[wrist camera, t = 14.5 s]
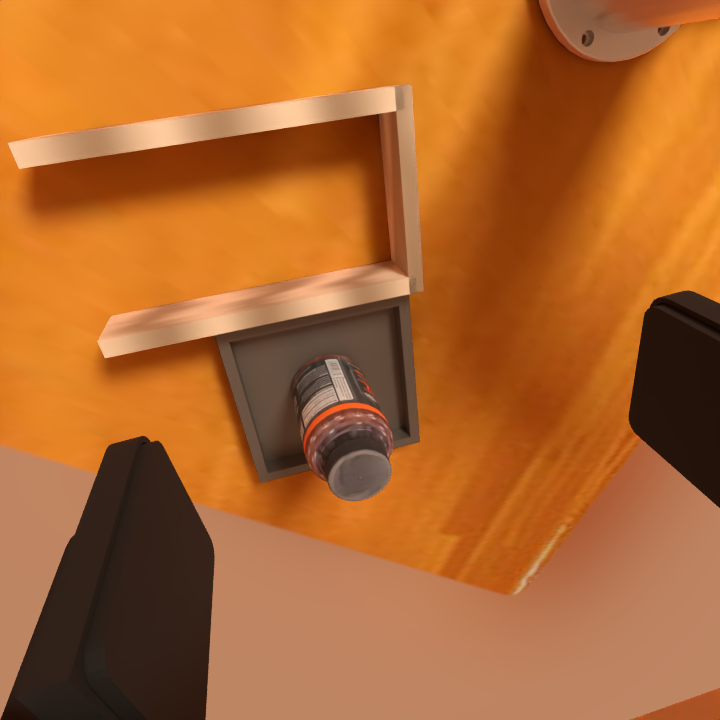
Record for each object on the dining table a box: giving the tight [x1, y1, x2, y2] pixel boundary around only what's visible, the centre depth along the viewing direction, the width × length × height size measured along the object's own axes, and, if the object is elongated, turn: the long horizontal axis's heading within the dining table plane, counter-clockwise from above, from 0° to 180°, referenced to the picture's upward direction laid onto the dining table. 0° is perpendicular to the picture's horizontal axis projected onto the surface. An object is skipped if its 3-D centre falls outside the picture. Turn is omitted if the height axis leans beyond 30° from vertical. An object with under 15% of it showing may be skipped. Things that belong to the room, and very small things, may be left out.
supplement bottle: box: [292, 354, 393, 501], centre depth 34 cm, size 6×6×11 cm
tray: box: [215, 294, 420, 483], centre depth 38 cm, size 14×14×2 cm
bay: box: [8, 84, 424, 358], centre depth 30 cm, size 21×12×4 cm, turn 97°
